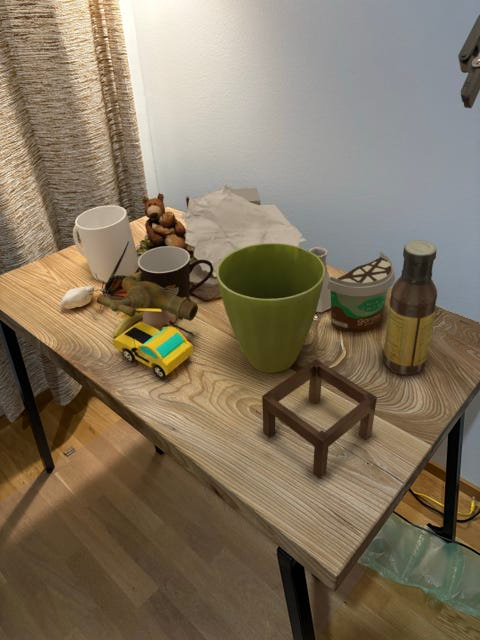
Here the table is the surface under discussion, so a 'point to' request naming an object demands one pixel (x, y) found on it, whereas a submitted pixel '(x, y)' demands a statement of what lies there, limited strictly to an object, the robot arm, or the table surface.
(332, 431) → the open square stand
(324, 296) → the flask
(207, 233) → the paper
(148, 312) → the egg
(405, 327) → the sauce bottle
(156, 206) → the bear figurine
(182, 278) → the coffee mug
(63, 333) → the table surface
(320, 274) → the flower pot
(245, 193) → the toy
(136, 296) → the action figure
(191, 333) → the stick
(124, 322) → the banana
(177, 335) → the toy car
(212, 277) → the ceramic tile fragment
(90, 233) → the mug
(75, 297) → the dumpling
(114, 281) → the butterfly
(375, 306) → the food container
